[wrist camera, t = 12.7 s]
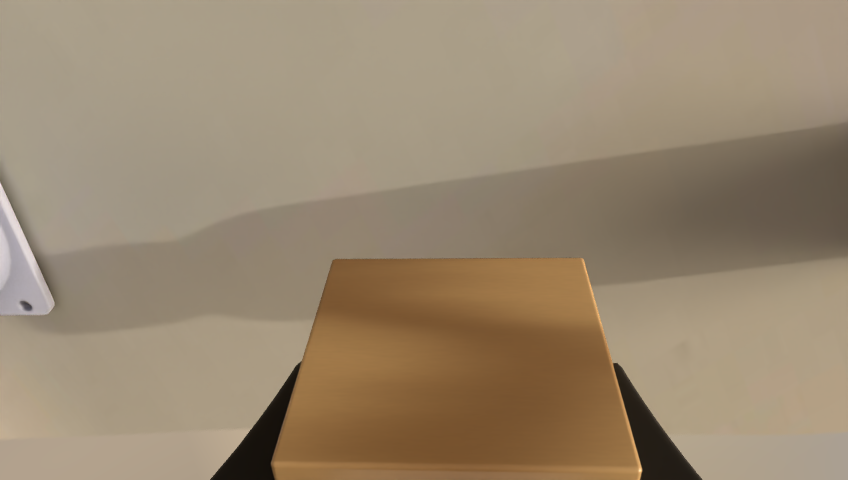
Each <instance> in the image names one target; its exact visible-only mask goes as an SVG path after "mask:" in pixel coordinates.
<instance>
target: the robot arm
mask: <svg viewBox="0 0 848 480" xmlns="http://www.w3.org/2000/svg"><path fill="white" fill-rule="evenodd" d="M26 302H28V303H29V304H28V303H26ZM54 305H55V303H54V299H53V297H52V295H51V293H50V291H49V288H48V286H47V284H46V282H45V279H44V277H43V275H42V273H41V271H40V268H39V266H38V264H37V262H36V260H35V257H34V255H33V253H32V251H31V249H30V246H29V244H28V242H27V240H26V238H25V235H24V233H23V231H22V229H21V227H20V224H19V222H18V220H17V218H16V216H15V213H14V211H13V209H12V207H11V205H10V202H9V200H8V198H7V196H6V194H5V191H4V189H3V187H2V185H1V183H0V315H46V314H48V313H49V312H50V311H51V310H52V309H53V308H54ZM301 363H302V361H301V362H300V363H299V364H298V365H296V367H295V368H294V370H293V371H292V373H291V374H290V376H289V377H288V379H287V380H286V382H285V383H284V385H283V386H282V388H281V389H280V391H279V392H278V394H277V395H276V396H275V398H274V399H273V401H272V402H271V403H270V405H269V406H268V408H267V409H266V410H265V412H264V413H263V415H262V416H261V417H260V419H259V420H258V421H257V423H256V424H255V425H254V426H253V428H252V429H251V430H250V432H249V433H248V434H247V436H246V437H245V438H244V440H243V441H242V442H241V444H240V445H239V446H238V447H237V449H236V450H235V451H234V452H233V453H232V454H231V456H230V457H229V458H228V459H227V460H226V462H225V463H224V464H223V465H222V466H221V467H220V469H219V470H218V471H217V472H216V474H215V475H214V476H213V477H212V478H211V479H210V480H275V479H274V475H273V471H272V467H271V461H272V458H273V454H274V451H275V448H276V445H277V441H278V438H279V435H280V431H281V428H282V425H283V422H284V418H285V415H286V412H287V408H288V405H289V402H290V399H291V395H292V392H293V389H294V386H295V382H296V379H297V376H298V372H299V369H300V366H301ZM613 367H614V370H615V374H616V377H617V381H618V385H619V388H620V392H621V395H622V399H623V402H624V406H625V410H626V413H627V417H628V420H629V424H630V428H631V431H632V435H633V438H634V442H635V445H636V449H637V453H638V456H639V460H640V463H641V467H642V473H641V477H640V480H702V479H701V477H700V476H699V475H698V474H697V473H696V471H695V470H694V469H693V468H692V466H691V465H690V464H689V463H688V462H687V460H686V459H685V458H684V456H683V455H682V454H681V452H680V451H679V450H678V448H677V447H676V446H675V445H674V443H673V442H672V441H671V439H670V438H669V437H668V435H667V434H666V433H665V431H664V430H663V429H662V427H661V426H660V424H659V423H658V422H657V420H656V419H655V417H654V416H653V414H652V413H651V412H650V410H649V409H648V407H647V406H646V404H645V403H644V401H643V400H642V398H641V397H640V395H639V394H638V392H637V391H636V389H635V388H634V386H633V385H632V383H631V381H630V380H629V378H628V377H627V375H626V373H625V372H624V370H623V369H622V367H621V366H620V365H619V364H617V363H613Z"/></svg>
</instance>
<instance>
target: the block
mask: <svg viewBox="0 0 848 480" xmlns="http://www.w3.org/2000/svg"><path fill="white" fill-rule="evenodd" d="M271 467H272V471H273V475H274V479H275V480H640V477H641V473H642V467H641V463H640V460H639V456H638V453H637V449H636V445H635V442H634V438H633V435H632V431H631V428H630V424H629V420H628V417H627V413H626V410H625V406H624V402H623V399H622V395H621V392H620V388H619V385H618V381H617V377H616V374H615V370H614V367H613V363H612V359H611V356H610V352H609V349H608V345H607V341H606V338H605V334H604V331H603V327H602V324H601V320H600V316H599V313H598V309H597V306H596V302H595V298H594V295H593V291H592V288H591V284H590V280H589V277H588V273H587V270H586V266H585V263H584V260H583V259H582V258H449V259H335V260H333V261H332V264H331V267H330V271H329V274H328V277H327V280H326V284H325V287H324V290H323V294H322V297H321V300H320V303H319V307H318V310H317V313H316V317H315V320H314V323H313V326H312V330H311V333H310V336H309V340H308V343H307V346H306V349H305V353H304V356H303V359H302V363H301V366H300V369H299V372H298V376H297V379H296V382H295V386H294V389H293V392H292V395H291V399H290V402H289V405H288V408H287V412H286V415H285V418H284V422H283V425H282V428H281V431H280V435H279V438H278V441H277V445H276V448H275V451H274V454H273V458H272V461H271Z"/></svg>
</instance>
